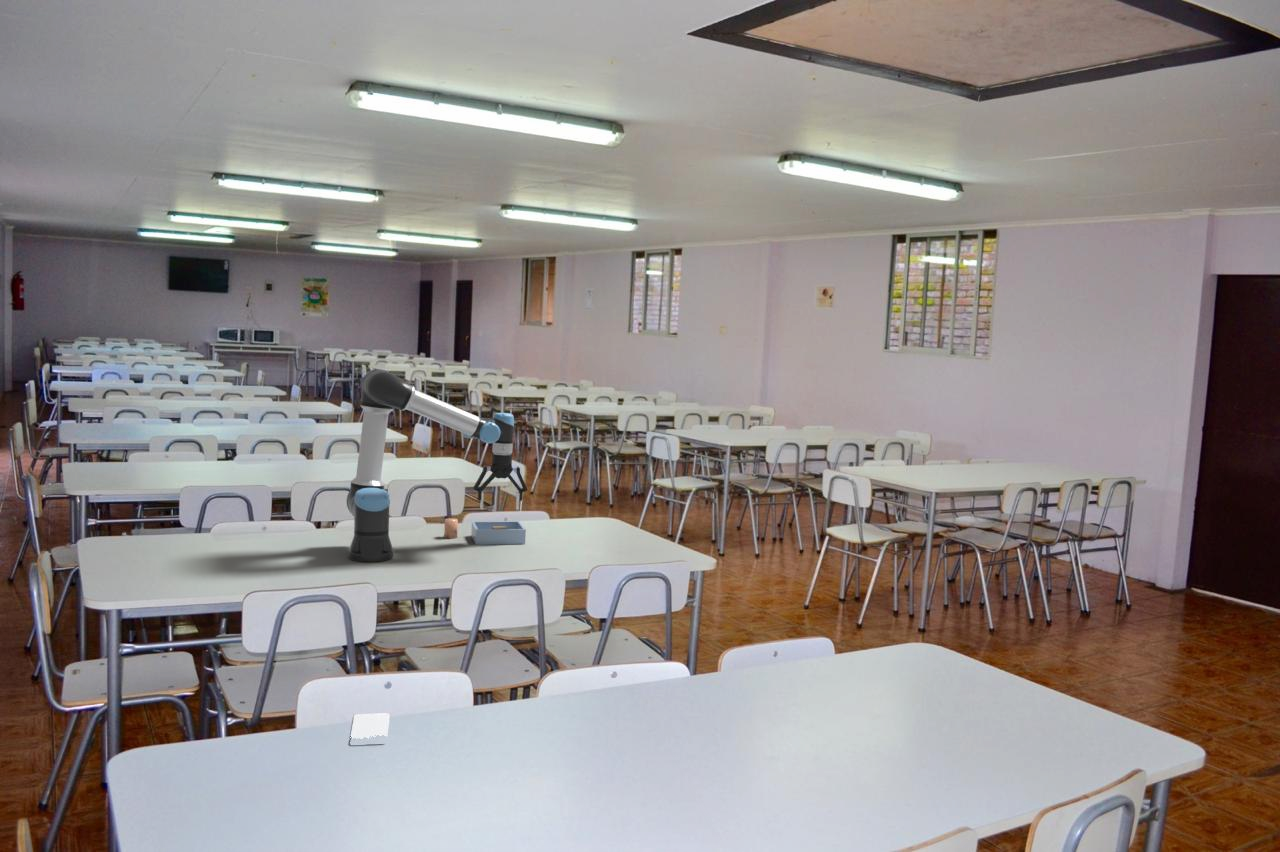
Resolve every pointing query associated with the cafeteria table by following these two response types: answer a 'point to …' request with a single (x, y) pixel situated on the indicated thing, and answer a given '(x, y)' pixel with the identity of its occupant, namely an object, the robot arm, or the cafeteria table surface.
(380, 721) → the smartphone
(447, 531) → the cylinder
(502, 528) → the cube
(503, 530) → the tote
